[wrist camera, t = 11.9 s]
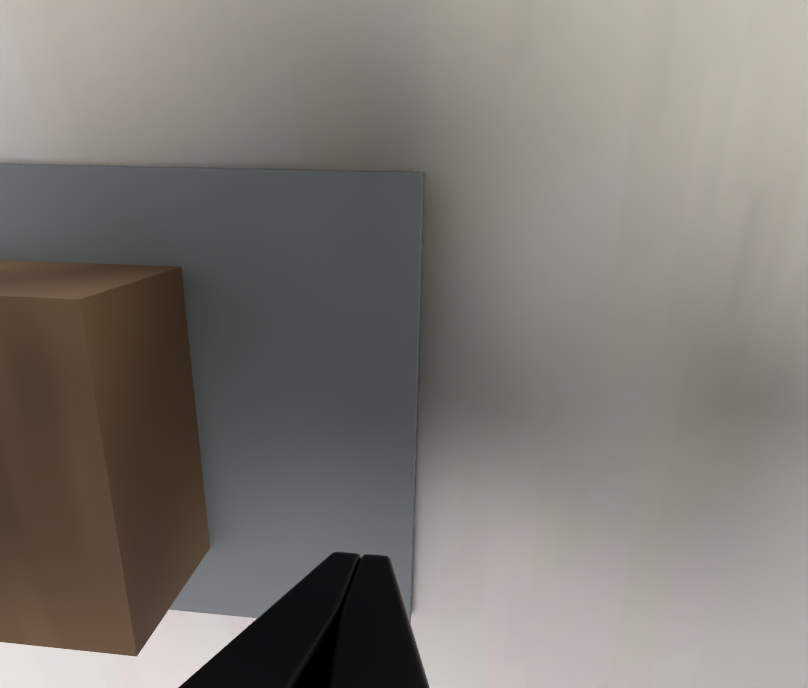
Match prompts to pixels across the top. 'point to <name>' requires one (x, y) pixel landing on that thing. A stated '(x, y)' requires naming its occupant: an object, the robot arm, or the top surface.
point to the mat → (268, 348)
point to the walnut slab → (95, 454)
